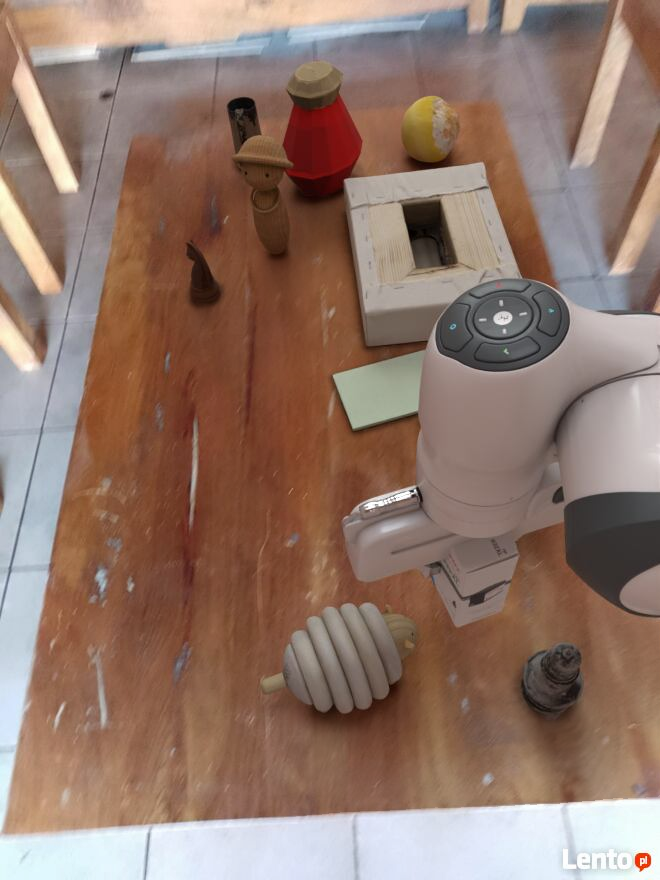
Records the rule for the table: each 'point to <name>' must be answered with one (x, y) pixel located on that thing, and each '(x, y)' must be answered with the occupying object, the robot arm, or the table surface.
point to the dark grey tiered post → (553, 679)
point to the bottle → (319, 131)
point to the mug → (243, 121)
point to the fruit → (430, 129)
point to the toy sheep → (345, 657)
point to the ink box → (477, 577)
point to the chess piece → (201, 277)
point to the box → (422, 246)
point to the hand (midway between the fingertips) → (462, 557)
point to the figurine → (266, 189)
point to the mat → (381, 390)
